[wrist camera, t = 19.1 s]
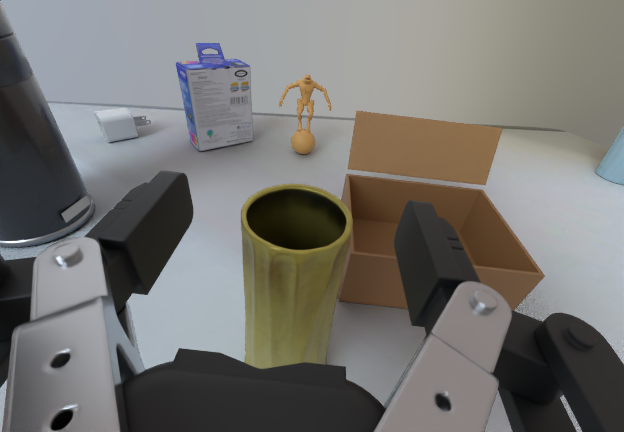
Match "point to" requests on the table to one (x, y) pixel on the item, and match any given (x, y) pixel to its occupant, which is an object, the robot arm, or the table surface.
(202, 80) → the ink cartridge box
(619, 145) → the cup
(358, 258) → the carton
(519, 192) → the table surface
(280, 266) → the vase
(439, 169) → the flap
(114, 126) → the usb wall charger
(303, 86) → the figurine
